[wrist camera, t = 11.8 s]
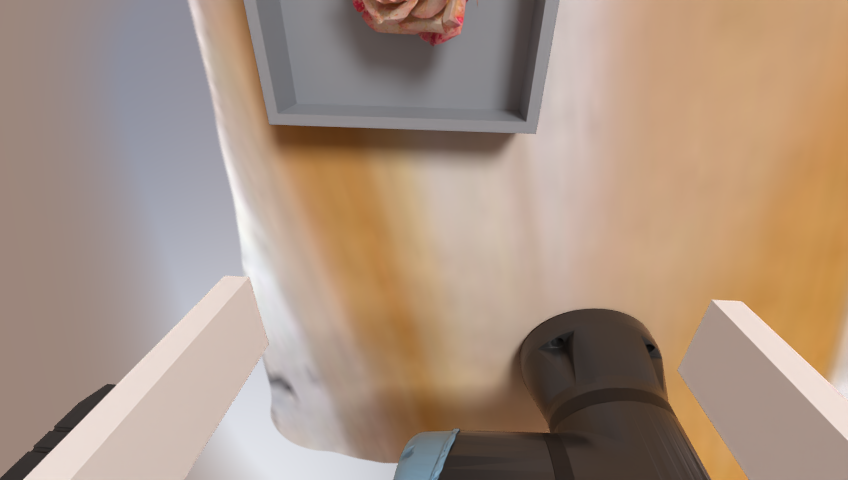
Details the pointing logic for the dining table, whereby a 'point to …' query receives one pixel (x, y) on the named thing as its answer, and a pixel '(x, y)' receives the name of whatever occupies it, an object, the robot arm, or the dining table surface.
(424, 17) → the flower
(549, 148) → the dining table surface
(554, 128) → the dining table surface
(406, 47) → the bin
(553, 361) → the robot arm
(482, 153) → the dining table surface
